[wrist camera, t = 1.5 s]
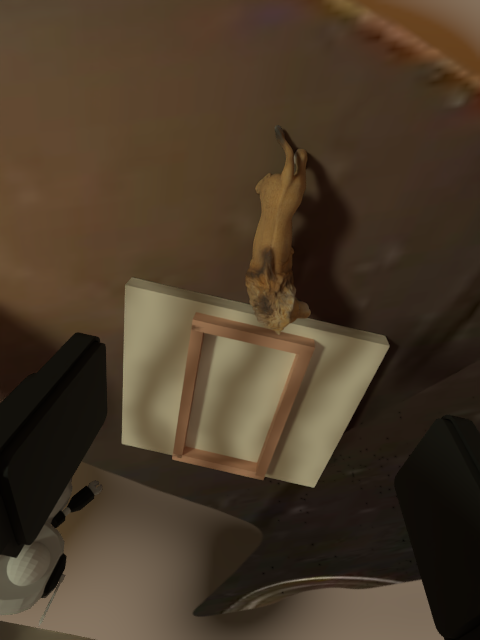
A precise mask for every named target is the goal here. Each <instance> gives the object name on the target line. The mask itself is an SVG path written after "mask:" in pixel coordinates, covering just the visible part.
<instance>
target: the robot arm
mask: <svg viewBox="0 0 480 640" xmlns="http://www.w3.org/2000/svg"><path fill="white" fill-rule="evenodd" d="M106 415H107V382H106V347H105V344H103V343H100V339H99V337H96V336H92V335H87V334H83V333H75V334H74V335H73V336H72V337H71V338H70V339H69V340H68V341H67V342H66V343H65V344H64V345H63V346H62V347H61V348H60V349H59V350H58V351H57V353H56V354H55V355H54V356H53V357H52V358H51V359H50V360H49V361H48V362H47V363H46V364H45V365H44V366H43V367H42V368H41V369H40V370H39V371H38V372H37V373H33V374H31V375H29V376H28V377H26V378H25V379H24V380H23V381H22V382H21V383H20V384H19V385H18V386H17V387H16V388H15V389H14V390H13V391H12V392H11V393H10V394H9V395H8V396H7V397H6V398H5V399H4V400H3V401H2V403H1V404H0V555H4V556H9V557H13V558H17V557H18V555H19V553H20V552H21V550H22V548H23V547H24V545H31V544H32V543H33V542H34V541H35V539H36V538H37V536H38V535H39V533H40V531H41V529H42V528H43V526H44V524H45V523H46V521H47V519H48V517H49V516H50V514H51V512H52V511H53V509H54V507H55V505H56V504H57V502H58V500H59V499H60V497H61V495H62V493H63V492H64V490H65V488H66V487H67V485H68V483H69V482H70V480H71V478H72V476H73V475H74V473H75V471H76V470H77V468H78V466H79V464H80V463H81V461H82V459H83V458H84V456H85V454H86V452H87V451H88V449H89V447H90V446H91V444H92V442H93V440H94V439H95V437H96V435H97V434H98V432H99V430H100V428H101V427H102V425H103V423H104V421H105V419H106ZM394 485H395V490H396V494H397V497H398V500H399V504H400V507H401V511H402V514H403V517H404V521H405V524H406V528H407V531H408V534H409V538H410V541H411V545H412V548H413V552H414V555H415V558H416V562H417V565H418V569H419V572H420V575H421V579H422V582H423V585H424V589H425V592H426V596H427V599H428V602H429V606H430V609H431V613H432V616H433V619H434V623H435V626H436V628H437V630H438V632H439V633H440V634H441V636H443V637H444V640H480V433H479V431H478V430H477V428H476V427H475V425H474V424H473V422H472V421H470V420H469V419H465V418H460V417H456V416H451V415H445V416H443V417H442V418H441V419H436V421H435V422H434V423H433V424H432V426H431V427H430V429H429V430H428V431H427V433H426V434H425V436H424V437H423V438H422V440H421V441H420V442H419V444H418V445H417V447H416V448H415V449H414V451H413V452H412V454H411V455H410V456H409V458H408V459H407V461H406V462H405V463H404V465H403V466H402V468H401V469H400V470H399V472H398V473H397V475H396V477H395V482H394ZM0 640H95V639H90V638H85V637H81V636H76V635H71V634H66V633H60V632H55V631H50V630H44V629H40V628H34V627H29V626H24V625H19V624H14V623H8V622H3V621H0Z"/></svg>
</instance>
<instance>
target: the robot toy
mask: <svg viewBox="0 0 480 640" xmlns="http://www.w3.org/2000/svg"><path fill="white" fill-rule="evenodd" d="M71 481H72V478H71V480H70V482H69V483H68V485H67V487H66V488H65V490H64V492H63V493H62V495H61V497H60V499H59V500H58V502H57V504H56V505H55V507H54V509H53V511H52V512H51V514H50V516H49V517H48V519H47V521H46V523H45V524H44V526H43V528H42V529H41V531H40V533H39V535H38V536H37V538H36V539H35V541H34V542H33V543H32V544H31V545H24V547H23V548H22V550H21V552H20V553H19V555H18V557H17V558H13V557H9V556H4V555H0V615H12V614H17V613H20V612H23V611H25V610H28V609H30V608H31V607H32V606H33V605H34V604H35V603H36V602H37V601H38V600H39V599H40V598H46V597H47V596H48V595H49V594H50V593H51V592H52V591H53V590H54V588H55V587H56V586H57V587H56V590H55V592H54V594H53V596H52V598H51V600H50V602H49V604H48V606H47V608H46V610H45V612H44V614H43V615H42V617H41V619H40V622H39V625H40V624H41V623H42V622H43V620H44V617H45V614H46V612H47V610H48V608H49V606H50V604H51V602H52V600H53V598H54V596H55V594H56V592H57V590H58V587H59V586H60V583H61V582H62V581H63V579H64V577H65V575H64V574H62V573H63V571H64V569H65V564H66V555H65V554H64V553H63V551H64V540H63V538H62V536H61V534H60V533H59V532H58V530H57V529H55V528H57V527H58V526H59V525H60V524H62V523H63V522H64V521H65V516H66V515H68V514H69V513H70V512H75V511H78V510H81V509H82V508H83V507H84V506H86V505H87V504H88V503H89V502H90V501H92V500H93V499H94V495H97V494H99V493H100V492H101V491H102V485H100V486H99V487H97V488H96V487H95V486H96V485H98V484H99V482H98V481H93V482H91V483H89V485H88V487H87V486H85V487H84V488H83V489H82V490H80V491H79V492H78V493H77V494H75V495H74V496H73V497H72V498H71V500H70V502H69V504H68V506H67V508H65V509H64V507H65V506H66V504H67V503H68V500H69V498H70V495H71V492H72V484H71ZM63 509H64V510H63ZM62 510H63V511H62ZM51 524H52V525H51ZM58 582H59V583H58ZM57 584H58V585H57Z"/></svg>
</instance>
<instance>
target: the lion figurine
mask: <svg viewBox="0 0 480 640" xmlns="http://www.w3.org/2000/svg"><path fill="white" fill-rule="evenodd" d="M275 132H276V138H277V141H278V142H279V143H280V145H281V146H282V148H283V149H284V151H285V154H286V163H285V167H284V170H283V171H282V173H281V174H273V175H272V174H270V173H268V174H267V175H266V176H265V177H264V178H263V179H262V180H260V181H259V183H258V184H257V186H256V192H257V194H259V195H260V200H261V207H262V214H261V218H260V221H259V224H258V227H257V231H256V234H255V238H254V242H253V258H252V260H251V262H250V268H249V269H248V271H247V273H246V283H245V285H246V286H247V292H248V294H249V297H250V301H249V302H250V304H251V306H252V308H253V310H254V311H255V312H254V314H255V316H256V318H257V322H258V323H261V324H263V326H264V327H266V328H269V329H271V330H273V331H275V332H276V333H277V334H278V335H279V334H280V333H281V331H283V330H284V327H286V326H288V324H290V323H292V322H294V321H295V320H296V319H298V318H299V319H305V318H308V317H309V316H310V314H311V311H310V309H309V306H308V305H307V304H306V303H305V302H302V301H301V300H299V299H297V298H295V294H296V288H295V287H294V285H293V279H294V277H293V272H292V255H293V254H294V250H293V248H292V247H291V245H292V216H293V215H294V213H295V212H296V210H297V208H298V207H299V206H300V204H301V201H302V198H303V194H304V192H305V189H306V162H307V159H308V158H307V152H306V151H305V150H304V149H298V150H297V151H296V152H295V155H294V154H293V150H292V148H291V147H290V145H289V144H288V142H287V141H286V140H285V136H284V132H283V131H282V128H281V127H280V126H279V125H277V126H275ZM294 164H295V165H297V168H296V173H295V175H294Z"/></svg>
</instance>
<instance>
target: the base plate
mask: <svg viewBox="0 0 480 640" xmlns="http://www.w3.org/2000/svg"><path fill="white" fill-rule="evenodd" d="M254 312H255V311H254V310H253V308H252V306H251V305H249V304H245V303H241V302H236V301H232V300H228V299H223V298H219V297H215V296H210V295H206V294H202V293H197V292H193V291H189V290H185V289H180V288H176V287H172V286H167V285H163V284H159V283H154V282H150V281H146V280H141V279H137V278H133V277H132V278H131V279H130V280H129V281H128V283H127V284H126V285H125V318H124V364H123V411H122V444H126V445H130V446H134V447H139V448H143V449H148V450H152V451H156V452H161V453H165V454H169V455H173V457H172V459H173V460H177V461H182V462H186V463H190V464H195V465H199V466H203V467H208V468H212V469H217V470H221V471H225V472H230V473H234V474H238V475H243V476H247V477H251V478H256V479H260V480H263V479H264V477H270V478H274V479H278V480H283V481H287V482H292V483H296V484H300V485H305V486H309V487H313V488H314V487H315V485H316V483H317V481H318V479H319V478H320V476H321V474H322V472H323V470H324V468H325V466H326V464H327V463H328V461H329V459H330V457H331V455H332V453H333V451H334V450H335V448H336V446H337V444H338V442H339V440H340V438H341V436H342V435H343V433H344V431H345V429H346V427H347V425H348V423H349V421H350V420H351V418H352V416H353V414H354V412H355V410H356V408H357V406H358V405H359V403H360V401H361V399H362V397H363V395H364V393H365V392H366V390H367V388H368V386H369V384H370V382H371V380H372V378H373V377H374V375H375V373H376V371H377V369H378V367H379V365H380V363H381V362H382V360H383V358H384V356H385V354H386V352H387V350H388V349H389V347H390V345H389V343H388V341H387V339H386V337H385V336H383V335H379V334H375V333H370V332H366V331H362V330H357V329H353V328H349V327H345V326H340V325H336V324H332V323H327V322H323V321H319V320H314V319H310V318H305V319H299V318H298V319H296V320H295V321H294V322H292V323H290V324H288V326H286V327H284V330H283V331H281V333H280V334H279V335H278V334H277V333H276V332H275V331H273V330H271V329H269V328H266V327H264V326H263V324H261V323H258V322H257V318H256V316H255V314H254Z"/></svg>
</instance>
